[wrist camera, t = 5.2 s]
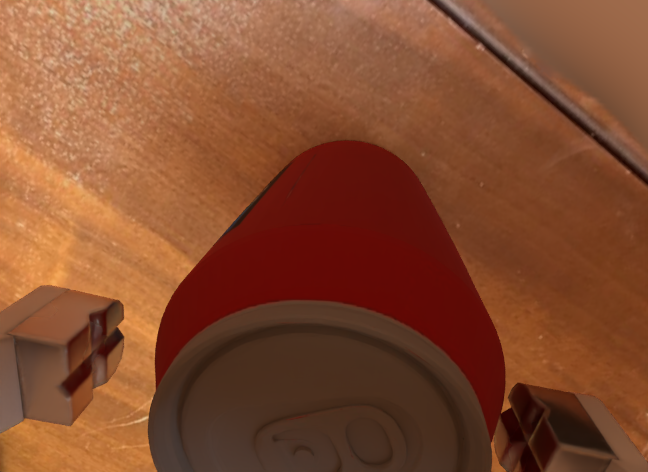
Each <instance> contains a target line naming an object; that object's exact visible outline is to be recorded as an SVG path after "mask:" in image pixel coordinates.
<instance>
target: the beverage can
mask: <svg viewBox="0 0 648 472" xmlns="http://www.w3.org/2000/svg"><path fill="white" fill-rule="evenodd" d="M155 376H156V392H155V394H154V397H153V400H152V404H151V407H150V412H149V422H148V438H149V445H150V451H151V455H152V458H153V462H154V464H155V467H156V469H157V471H158V472H491V466H492V449H491V442H492V439H493V436H494V433H495V430H496V427H497V424H498V421H499V417H500V414H501V410H502V406H503V402H504V393H505V362H504V355H503V351H502V346H501V343H500V340H499V337H498V334H497V331H496V329H495V327H494V325H493V322H492V320H491V318H490V316H489V314H488V312H487V310H486V308H485V306H484V304H483V302H482V300H481V298H480V296H479V294H478V292H477V290H476V288H475V286H474V284H473V281H472V279H471V277H470V275H469V273H468V271H467V269H466V267H465V265H464V263H463V261H462V259H461V257H460V255H459V253H458V251H457V249H456V247H455V245H454V243H453V241H452V240H451V238H450V236H449V234H448V232H447V230H446V228H445V226H444V224H443V222H442V220H441V218H440V217H439V215H438V213H437V211H436V209H435V207H434V205H433V204H432V202H431V200H430V198H429V196H428V195H427V193H426V191H425V190H424V188H423V186H422V184H421V183H420V181H419V179H418V178H417V176H416V175H415V173H414V172H413V171H412V170H411V169H410V168H409V166H408V165H407V164H405V163H404V162H403V161H402V160H401V159H400V158H398V157H397V156H396V155H394V154H392V153H391V152H389V151H387V150H385V149H383V148H381V147H378V146H376V145H373V144H369V143H365V142H360V141H334V142H329V143H324V144H321V145H318V146H315V147H313V148H311V149H309V150H307V151H305V152H303V153H302V154H300V155H299V156H297V157H296V158H295V159H293V160H292V161H291V162H290V163H289V164H288V165H287V166H286V167H285V168H284V169H283V170H282V171H281V172H280V173H279V174H278V175H277V176H276V177H275V178H274V179H273V180H272V181H271V182H270V183H269V184H268V185H267V186H266V188H265V189H264V190H263V191H262V192H261V193H260V194H259V195H258V196H257V197H256V198H255V199H254V201H253V202H252V203H251V204H250V205H249V206H248V207H247V208H246V209H245V210H244V211H243V213H242V214H241V215H240V216H239V217H238V218H237V219H236V220H235V221H234V222H233V224H232V225H231V226H230V227H229V228H228V229H227V230H226V232H225V233H224V234H223V235H222V236H221V237H220V239H219V240H218V241H217V242H216V243H215V244H214V245H213V247H212V248H211V249H210V250H209V251H208V252H207V253H206V255H205V256H204V257H203V258H202V259H201V260H200V262H199V263H198V264H197V265H196V266H195V267H194V268H193V270H192V271H191V272H190V273H189V274H188V275H187V277H186V278H185V279H184V280H183V281H182V282H181V284H180V285H179V286H178V288H177V289H176V291H175V292H174V294H173V295H172V297H171V299H170V301H169V303H168V305H167V307H166V309H165V312H164V314H163V317H162V320H161V323H160V327H159V331H158V336H157V342H156V349H155Z"/></svg>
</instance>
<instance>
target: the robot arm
mask: <svg viewBox="0 0 648 472" xmlns="http://www.w3.org/2000/svg"><path fill="white" fill-rule="evenodd" d="M123 319H124V307H123V304H122V303H121V302H120V301H119V300H115V299H111V298H106V297H102V296H98V295H93V294H89V293H84V292H80V291H76V290H70V289H66V288H61V287H57V286H52V285H44V286H40V287H38V288H37V289H35V290H34V291H32V292H31V293H29V294H28V295H26V296H24V297H23V298H21V299H20V300H18V301H17V302H15V303H14V304H12V305H11V306H9V307H8V308H6V309H4V310H3V311H1V312H0V433H2V432H4V431H6V430H8V429H9V428H11V427H13V426H15V425H17V424H19V423H20V422H22V421H23V420H24V418H27V419H32V420H38V421H44V422H49V423H55V424H61V425H66V426H71V425H72V424H73V423H74V421H75V420H76V419H77V418H78V417H79V416H80V414H81V413H82V412H83V411H84V410H85V408H86V407H87V406H88V405H89V404H90V402H91V401H92V400H93V389H94V388H96V387H98V386H100V385H103V384H105V383H107V382H108V380H109V379H110V378H111V377H112V375H113V374H114V373H115V371H116V369H117V367H118V365H119V363H120V361H121V359H122V354H123V349H124V336H123V335H122V333H121V332H120V330H119V329H118V327H117V326H118V325H119V324H120V323H121V322H122V320H123ZM508 399H509V402H510V405H511V408H509V409H508V410H506V411H504V412H503V413H501V414H500V417H499V421H498V424H497V427H496V430H495V433H494V445H495V452H496V455H497V458H498V461H499V464H500V465H501V466H502V467H503V468H504V469H505V470H506V471H507V472H648V462H647V461H646V460H645V458H644V457H643V456H642V454H641V453H640V452H639V450H638V449H637V448H636V446H635V445H634V444H633V442H632V441H631V440H630V438H629V437H628V436H627V434H626V433H625V432H624V430H623V429H622V428H621V426H620V425H619V424H618V422H617V421H616V420H615V418H614V417H613V416H612V414H611V413H610V412H609V410H608V409H607V408H606V406H605V405H604V404H603V402H602V401H601V400H599V399H598V398H596V397H595V396H591V395H585V394H580V393H574V392H564V391H559V390H554V389H549V388H544V387H539V386H534V385H528V384H523V383H517V384H516V385H515V386H514V387H513V388H512V390H511V392H510V394H509V396H508Z"/></svg>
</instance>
